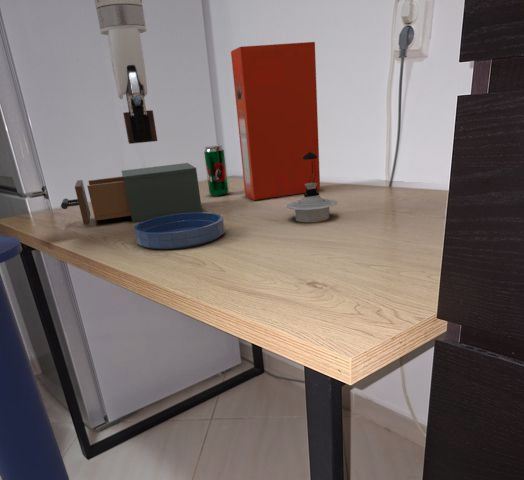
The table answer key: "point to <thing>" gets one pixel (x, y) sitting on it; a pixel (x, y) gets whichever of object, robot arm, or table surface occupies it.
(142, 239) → the bowl
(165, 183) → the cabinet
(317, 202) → the oil lamp
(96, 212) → the drawer
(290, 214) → the table surface
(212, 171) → the soda can
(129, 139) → the block
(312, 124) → the file binder
